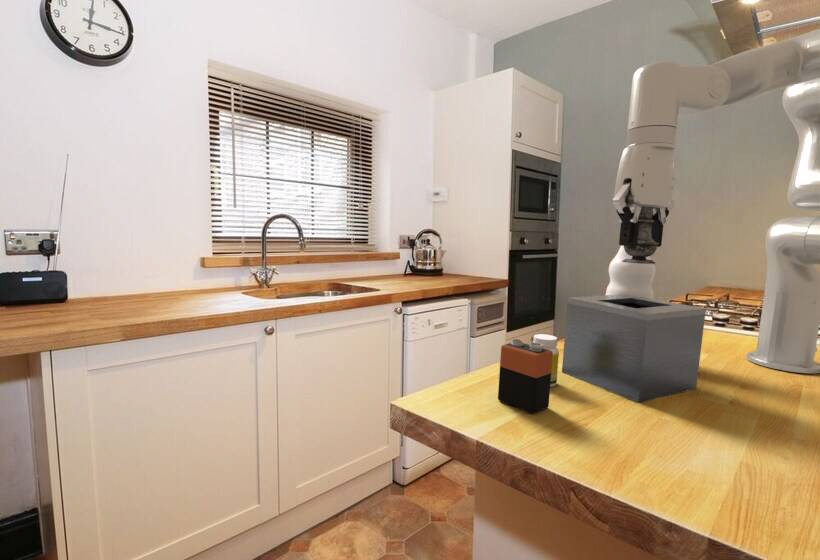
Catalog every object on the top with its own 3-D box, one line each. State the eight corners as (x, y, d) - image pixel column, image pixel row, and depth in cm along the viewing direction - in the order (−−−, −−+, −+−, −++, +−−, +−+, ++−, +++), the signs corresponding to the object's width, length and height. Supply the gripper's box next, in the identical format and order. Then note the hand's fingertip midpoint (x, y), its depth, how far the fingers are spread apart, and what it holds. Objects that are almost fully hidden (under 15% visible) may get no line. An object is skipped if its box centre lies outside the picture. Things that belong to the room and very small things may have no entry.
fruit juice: (618, 362, 92) (632, 228, 89) (591, 350, 101) (602, 227, 98) (657, 361, 94) (671, 229, 91) (626, 349, 104) (639, 228, 100)
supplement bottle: (557, 381, 80) (561, 335, 79) (554, 389, 76) (558, 341, 74) (530, 376, 82) (534, 332, 81) (526, 384, 78) (529, 337, 76)
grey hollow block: (617, 362, 92) (623, 294, 91) (696, 388, 78) (705, 308, 77) (561, 372, 85) (567, 297, 83) (638, 402, 71) (647, 314, 69)
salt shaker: (662, 264, 76) (669, 193, 74) (625, 262, 77) (631, 192, 75) (651, 262, 81) (657, 195, 80) (616, 260, 82) (622, 195, 81)
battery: (533, 415, 65) (538, 349, 64) (496, 400, 70) (500, 339, 69) (549, 408, 68) (554, 344, 66) (512, 394, 73) (517, 335, 71)
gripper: (660, 149, 84) (650, 245, 86) (598, 138, 76) (589, 244, 78) (701, 144, 77) (690, 247, 79) (638, 131, 69) (627, 247, 71)
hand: (640, 245), depth 79 cm, fingers closed on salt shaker, 5 cm apart
